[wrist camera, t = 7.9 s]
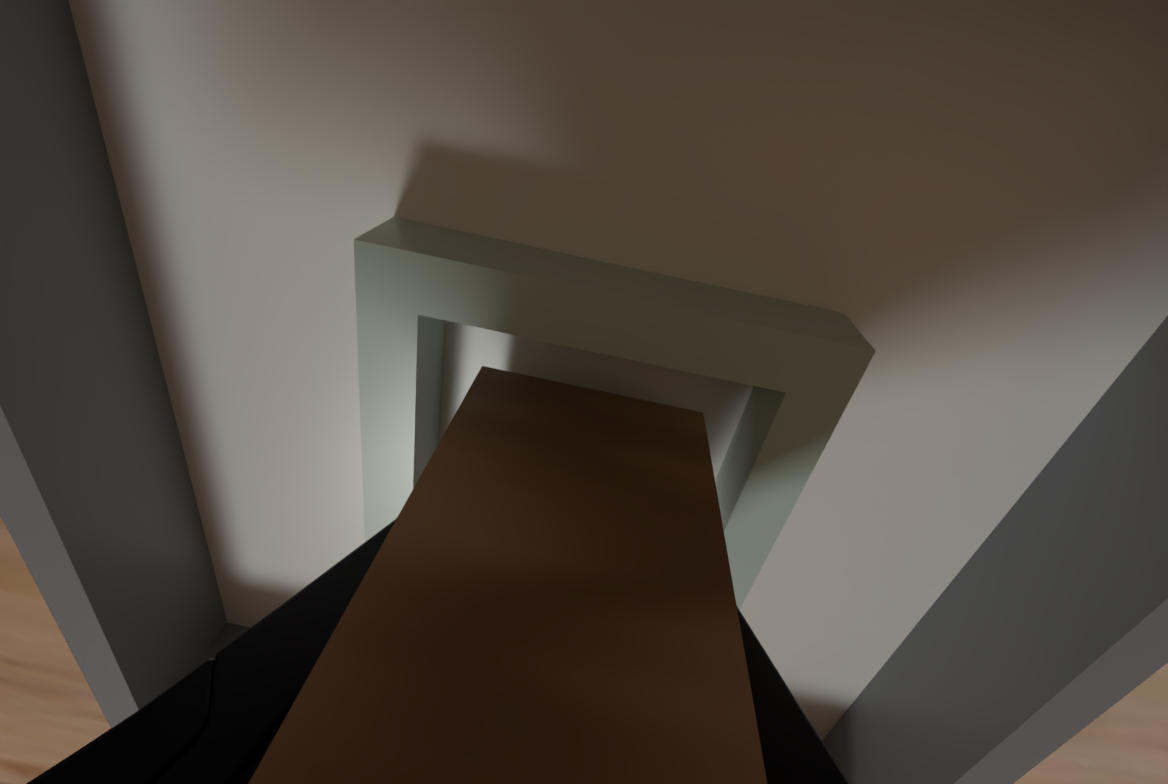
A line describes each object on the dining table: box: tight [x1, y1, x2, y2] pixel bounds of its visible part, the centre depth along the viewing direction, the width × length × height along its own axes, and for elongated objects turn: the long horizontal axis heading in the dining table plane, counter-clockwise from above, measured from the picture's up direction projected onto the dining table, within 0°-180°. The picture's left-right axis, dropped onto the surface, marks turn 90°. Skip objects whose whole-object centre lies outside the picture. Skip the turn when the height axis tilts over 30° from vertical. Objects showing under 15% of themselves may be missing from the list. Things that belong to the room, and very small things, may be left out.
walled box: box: [0, 0, 1168, 784], centre depth 11 cm, size 20×20×4 cm
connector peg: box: [248, 366, 767, 784], centre depth 7 cm, size 4×4×8 cm
